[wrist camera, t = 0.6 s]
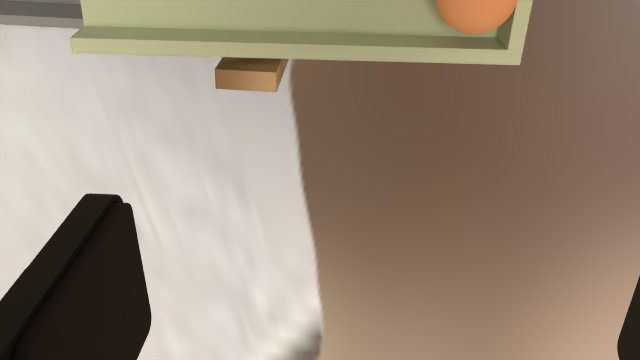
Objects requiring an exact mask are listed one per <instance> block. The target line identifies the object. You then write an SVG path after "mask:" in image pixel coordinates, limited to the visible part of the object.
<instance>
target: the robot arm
mask: <svg viewBox="0 0 640 360" xmlns="http://www.w3.org/2000/svg"><path fill="white" fill-rule="evenodd" d="M150 326H151V309H150V304H149V298H148V293H147V287H146V282H145V276H144V271H143V265H142V260H141V254H140V249H139V243H138V238H137V232H136V227H135V221H134V216H133V211H132V207H131V205H130V204H129V203H123V201H122V199H121V197H120V196H119V195H112V194H86V195H84V196H83V197H82V199H81V200H80V201H79V202H78V204H77V205H76V206H75V208H74V209H73V210H72V211H71V213H70V214H69V215H68V216H67V218H66V219H65V220H64V222H63V223H62V224H61V225H60V227H59V228H58V229H57V230H56V232H55V233H54V234H53V236H52V237H51V238H50V239H49V241H48V242H47V243H46V244H45V246H44V247H43V248H42V250H41V251H40V252H39V253H38V255H37V256H36V257H35V258H34V260H33V261H32V262H31V264H30V265H29V266H28V267H27V268H26V269H25V270H24V271H23V273H22V274H21V275H20V276H19V278H18V279H17V280H16V282H15V283H14V284H13V285H12V287H11V288H10V289H9V290H8V292H7V293H6V294H5V295H4V297H3V298H2V299H1V301H0V360H137V358H138V356H139V353H140V351H141V349H142V347H143V344H144V342H145V340H146V338H147V335H148V333H149V330H150ZM617 346H618V347H617V348H618V356H619V359H620V360H640V277H639V279H638V283H637V286H636V288H635V291H634V294H633V297H632V300H631V303H630V306H629V309H628V312H627V315H626V318H625V321H624V324H623V327H622V330H621V332H620V335H619V339H618V345H617Z"/></svg>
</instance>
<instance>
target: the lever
mask: <svg viewBox="0 0 640 360" xmlns="http://www.w3.org/2000/svg"><path fill="white" fill-rule="evenodd" d="M532 2H533V0H518V1H517V4H516V6H515V8H514V10H513V12H512V14H511V15H510V16H509V18H508V19H507V20H506V21H505V22H504V23H503V24H501V25H500V26H499V27H497V28H496V29H494V30H492V31H489V32H486V33H482V34H467V33H463V32H460V31H457V30H456V29H454V28H452V27H451V26H450V25H448V24H447V23H446V22H445V21H444V19H443V18H442V16H441V15H440V13H439V11H438V8H437V4H436V0H80V3H81V9H82V15H83V22H84V27H82V28H81V29H80V30H79V31H78V32H76V33H75V34H74V35H73V36H72V37H70V41H71V47H72V53H91V54H128V55H165V56H203V57H240V58H277V59H315V60H352V61H389V62H427V63H429V62H430V63H464V64H465V63H466V64H501V65H520V61H521V56H522V51H523V46H524V42H525V36H526V31H527V27H528V21H529V16H530V12H531V6H532Z"/></svg>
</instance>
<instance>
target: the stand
mask: <svg viewBox="0 0 640 360" xmlns="http://www.w3.org/2000/svg"><path fill="white" fill-rule="evenodd" d="M288 60H289V59H277V58H240V57H223V58H222V59H221V61H220V62H219V64H218V65H217V67H216V68H215V82H216V89H230V90H248V91H265V92H276V91H277V89H278V86H279V83H280V81H281V78H282V75H283V73H284V70H285V67H286V65H287V62H288Z"/></svg>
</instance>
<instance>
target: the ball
mask: <svg viewBox="0 0 640 360" xmlns="http://www.w3.org/2000/svg"><path fill="white" fill-rule="evenodd" d="M517 1H518V0H436V4H437V8H438V11H439V13H440V15H441V16H442V18H443V19H444V21H445V22H446V23H447V24H448V25H450V26H451V27H452V28H454V29H456V30H457V31H460V32H463V33H467V34H482V33H486V32H489V31H492V30H494V29H496V28H497V27H499V26H500V25H501V24H503V23H504V22H505V21H506V20H507V19H508V18H509V16H510V15H511V14H512V12H513V10H514V8H515V6H516V4H517Z"/></svg>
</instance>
